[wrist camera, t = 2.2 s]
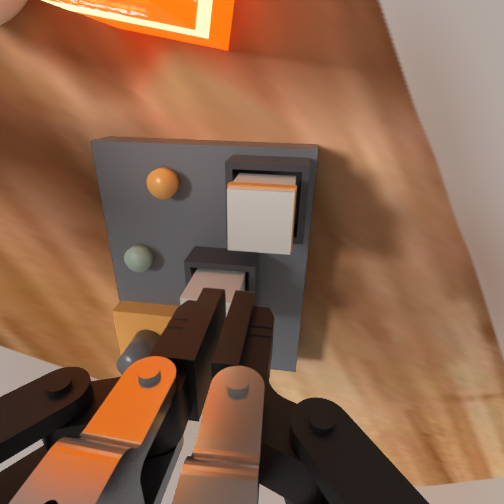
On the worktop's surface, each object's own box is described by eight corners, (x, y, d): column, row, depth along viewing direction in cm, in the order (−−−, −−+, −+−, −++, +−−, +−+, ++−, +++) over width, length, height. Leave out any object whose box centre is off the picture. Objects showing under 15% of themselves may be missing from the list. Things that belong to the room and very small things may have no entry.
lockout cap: (130, 351, 36) (104, 390, 31) (121, 300, 33) (91, 334, 28) (189, 358, 35) (172, 399, 30) (185, 306, 32) (165, 343, 27)
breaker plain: (200, 307, 29) (183, 341, 25) (197, 267, 27) (179, 297, 23) (244, 312, 29) (235, 347, 24) (245, 271, 27) (235, 302, 23)
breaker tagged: (238, 226, 25) (226, 251, 21) (238, 171, 23) (225, 187, 19) (292, 230, 25) (291, 256, 21) (297, 174, 23) (296, 191, 19)
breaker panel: (141, 334, 38) (115, 373, 33) (109, 136, 29) (66, 145, 24) (295, 351, 36) (295, 395, 31) (316, 144, 27) (320, 156, 22)
